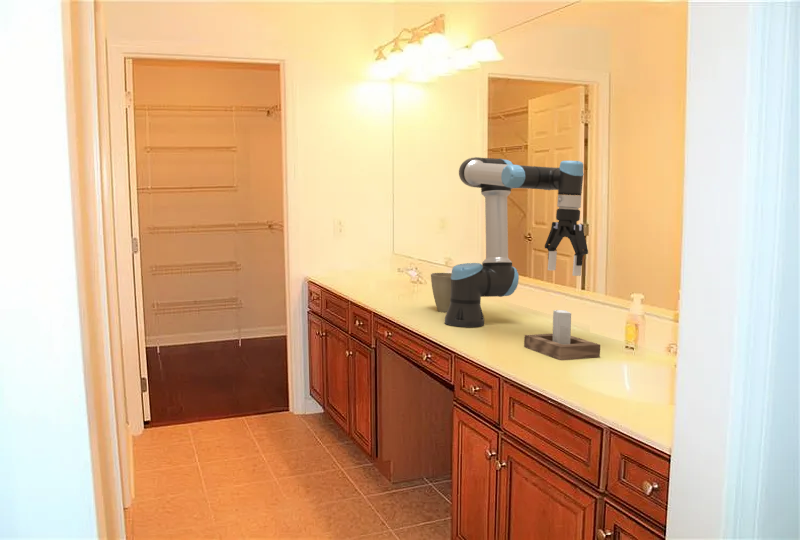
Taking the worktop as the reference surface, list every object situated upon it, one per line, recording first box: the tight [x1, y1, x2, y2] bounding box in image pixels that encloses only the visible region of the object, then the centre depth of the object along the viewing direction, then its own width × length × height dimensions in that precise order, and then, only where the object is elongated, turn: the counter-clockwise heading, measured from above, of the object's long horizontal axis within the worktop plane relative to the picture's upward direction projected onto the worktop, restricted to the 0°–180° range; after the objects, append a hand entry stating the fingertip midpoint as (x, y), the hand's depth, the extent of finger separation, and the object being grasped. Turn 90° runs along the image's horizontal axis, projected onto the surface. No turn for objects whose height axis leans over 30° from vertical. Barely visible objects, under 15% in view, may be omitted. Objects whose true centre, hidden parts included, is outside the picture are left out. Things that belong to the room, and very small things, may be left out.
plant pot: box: [430, 272, 452, 313], centre depth 285 cm, size 15×15×16 cm
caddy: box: [523, 333, 601, 361], centre depth 210 cm, size 19×15×4 cm
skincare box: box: [552, 309, 572, 345], centre depth 210 cm, size 6×4×12 cm
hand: (563, 272), depth 218 cm, fingers open, 13 cm apart
